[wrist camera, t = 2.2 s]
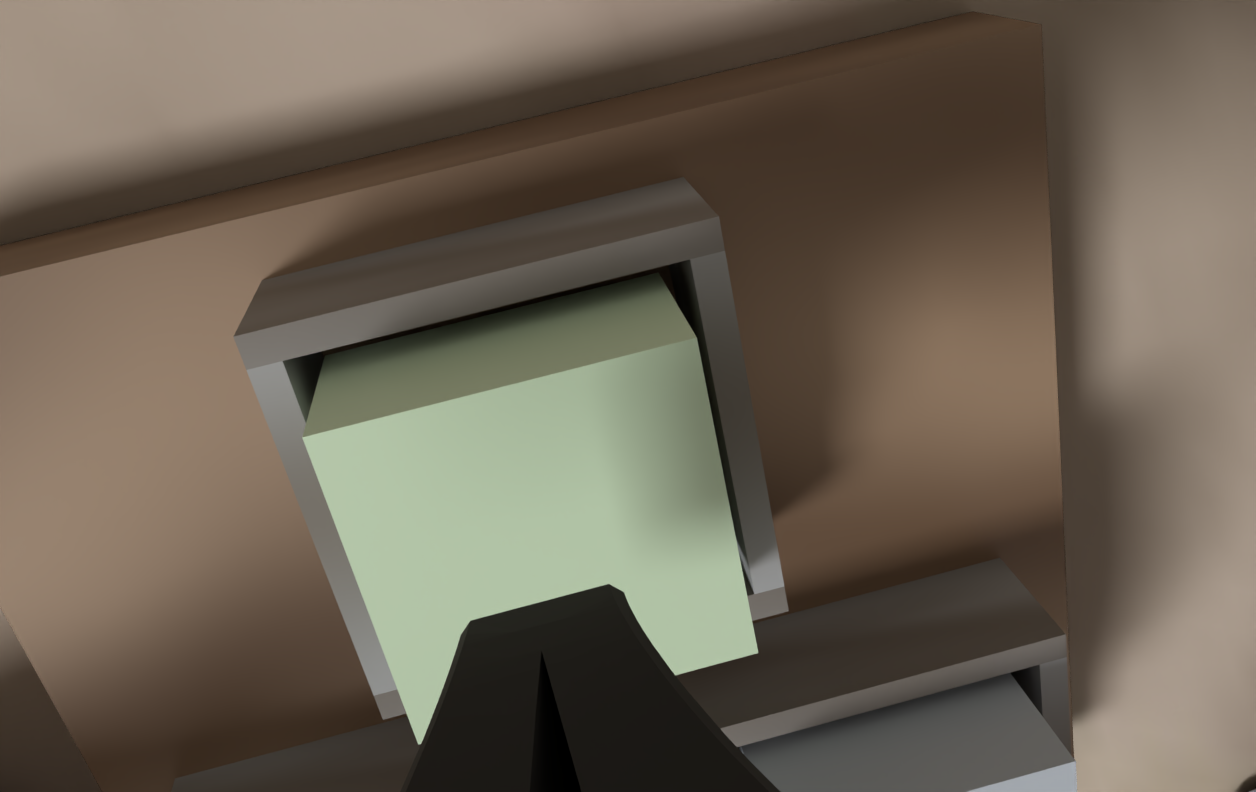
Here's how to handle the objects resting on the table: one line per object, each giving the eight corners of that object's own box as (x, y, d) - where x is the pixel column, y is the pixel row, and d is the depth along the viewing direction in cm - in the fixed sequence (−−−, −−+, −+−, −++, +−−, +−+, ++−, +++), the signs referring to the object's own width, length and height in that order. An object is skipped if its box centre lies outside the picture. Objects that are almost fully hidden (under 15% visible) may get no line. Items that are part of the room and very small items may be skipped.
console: (1023, 750, 21) (1140, 920, 18) (268, 960, 21) (229, 1182, 17) (972, 11, 16) (1131, 41, 12) (-87, 266, 15) (-260, 380, 11)
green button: (715, 552, 15) (758, 653, 13) (422, 630, 14) (418, 744, 12) (658, 272, 13) (697, 337, 11) (324, 355, 13) (302, 436, 11)
